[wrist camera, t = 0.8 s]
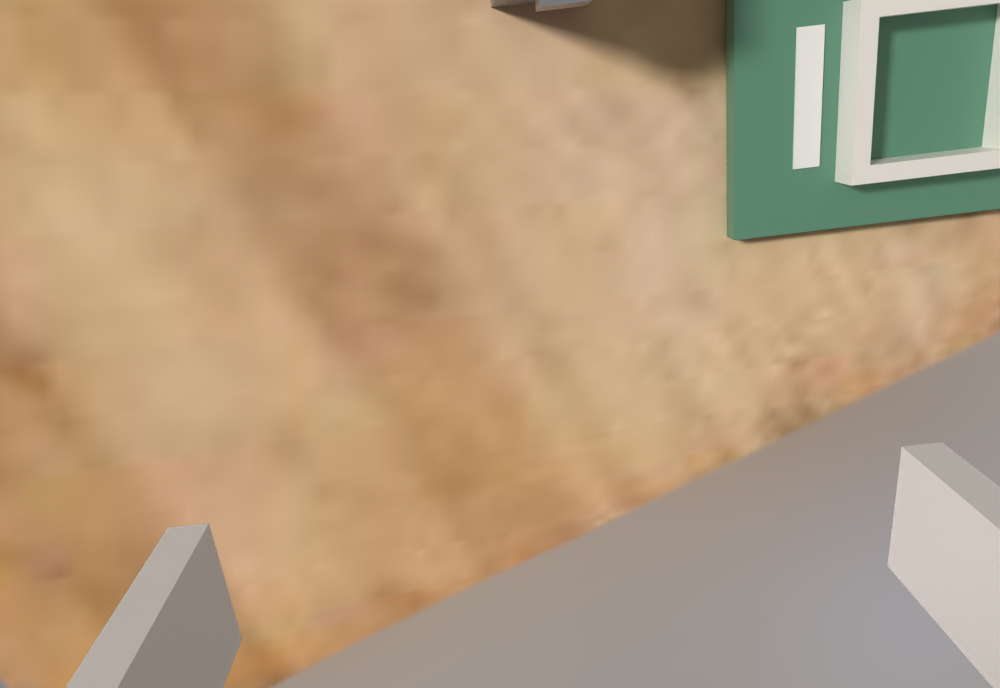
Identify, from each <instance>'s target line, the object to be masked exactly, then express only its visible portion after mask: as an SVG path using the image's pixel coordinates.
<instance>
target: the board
mask: <svg viewBox="0 0 1000 688" xmlns="http://www.w3.org/2000/svg"><path fill="white" fill-rule="evenodd" d="M726 53H727V236H728V237H729V238H731V239H733V240H741V239H750V238H758V237H766V236H775V235H783V234H792V233H800V232H808V231H817V230H825V229H834V228H842V227H850V226H859V225H867V224H876V223H884V222H892V221H901V220H909V219H918V218H926V217H935V216H943V215H951V214H960V213H968V212H977V211H985V210H993V209H1000V0H726Z"/></svg>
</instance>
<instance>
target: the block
mask: <svg viewBox="0 0 1000 688" xmlns="http://www.w3.org/2000/svg"><path fill="white" fill-rule="evenodd" d="M592 1H593V0H491V8H492V7H501V6H510V5H518V4H527V3H535V7H536V12H538V11H547V10H556V9H564V8H573V7H581V6H586V5H587V4H589V3H590V2H592Z"/></svg>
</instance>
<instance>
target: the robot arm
mask: <svg viewBox="0 0 1000 688" xmlns="http://www.w3.org/2000/svg"><path fill="white" fill-rule="evenodd" d="M888 567H889V568H890V569H891V570H892V571H893V573H894V574H895V575H896V576H897V577H898V578H899V580H900V581H901V582H902V583H903V584H904V585H905V586H906V588H907V589H908V590H909V591H910V592H911V593H912V594H913V596H914V597H915V598H916V599H917V600H918V601H919V603H920V604H921V605H922V606H923V607H924V608H925V609H926V610H927V612H928V613H929V614H930V615H931V616H932V618H933V619H934V620H935V621H936V622H937V623H938V625H939V626H940V627H941V628H942V629H943V630H944V631H945V633H946V634H947V635H948V636H949V637H950V638H951V640H952V641H953V642H954V643H955V644H956V645H957V646H958V648H959V649H960V650H961V651H962V652H963V653H964V655H965V656H966V657H967V658H968V659H969V660H970V661H971V663H972V664H973V665H974V666H975V667H976V668H977V670H978V671H979V672H980V673H981V674H982V675H983V676H984V678H985V679H986V680H987V681H988V682H989V683H990V685H991V686H992V687H993V688H1000V487H999V486H998V485H997V484H995V483H994V482H993V481H991V480H990V479H989V478H987V477H986V476H985V475H984V474H982V473H981V472H980V471H978V470H977V469H976V468H975V467H973V466H972V465H971V464H969V463H968V462H966V461H965V460H964V459H963V458H961V457H960V456H959V455H958V454H956V453H955V452H954V451H952V450H951V449H950V448H949V447H947V446H946V445H945V444H943V443H942V442H938V443H929V444H920V445H910V446H902V448H901V457H900V466H899V474H898V482H897V491H896V500H895V507H894V516H893V524H892V533H891V541H890V550H889V559H888ZM241 640H242V638H241V634H240V631H239V627H238V624H237V620H236V617H235V613H234V610H233V606H232V603H231V599H230V596H229V592H228V589H227V585H226V582H225V578H224V575H223V571H222V567H221V564H220V560H219V557H218V553H217V550H216V546H215V543H214V539H213V536H212V532H211V529H210V525H209V523H206V524H197V525H188V526H179V527H170V528H167V530H166V531H165V533H164V535H163V536H162V538H161V539H160V541H159V542H158V544H157V546H156V547H155V549H154V550H153V552H152V553H151V555H150V556H149V558H148V560H147V561H146V563H145V564H144V566H143V567H142V569H141V571H140V572H139V574H138V575H137V577H136V578H135V580H134V581H133V583H132V585H131V586H130V588H129V589H128V591H127V592H126V594H125V595H124V597H123V599H122V600H121V602H120V603H119V605H118V606H117V608H116V610H115V611H114V613H113V614H112V616H111V617H110V619H109V620H108V622H107V624H106V625H105V627H104V628H103V630H102V631H101V633H100V635H99V636H98V638H97V639H96V641H95V642H94V644H93V645H92V647H91V649H90V650H89V652H88V653H87V655H86V656H85V658H84V660H83V661H82V663H81V664H80V666H79V667H78V669H77V670H76V672H75V674H74V675H73V677H72V678H71V680H70V681H69V683H68V685H67V686H66V688H223V686H224V684H225V681H226V679H227V676H228V673H229V671H230V668H231V666H232V663H233V660H234V658H235V655H236V653H237V650H238V647H239V645H240V642H241Z"/></svg>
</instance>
